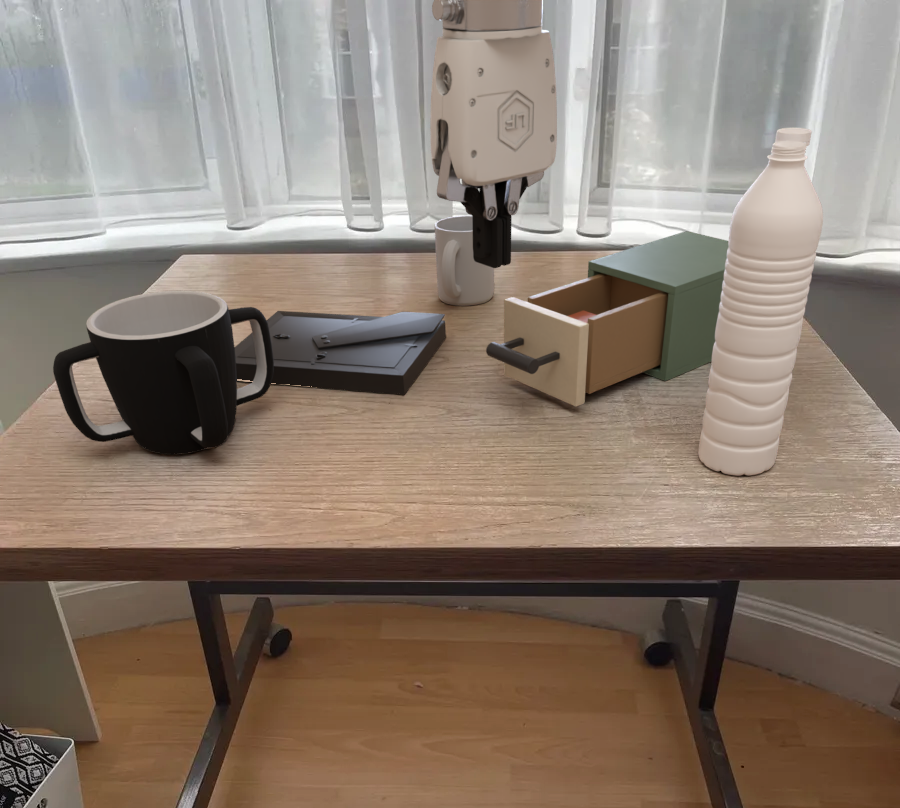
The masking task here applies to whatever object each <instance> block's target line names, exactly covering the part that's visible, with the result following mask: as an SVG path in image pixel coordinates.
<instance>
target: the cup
mask: <svg viewBox="0 0 900 808" xmlns="http://www.w3.org/2000/svg"><path fill="white" fill-rule="evenodd" d="M434 243H435V265H436V266H435V267H436V286H437V287H436V288H437V296H438V298H439V300H440V301H441V302H442V303H444V304H447V305H451V306H457V307H459V306H460V307H466V306H468V307H469V306H476V305H477V306H478V305H481V304H485V303H487V302H489V301H490V300H491V299H492V298H493V296H494V294H495V268H492V267H489V266H486V265H483V264H480V263H477V262H475V261H474V258H473V223H472V215H457V216H450V217H449V216H448V217H444V218H442V219H439V220H437V221H435V222H434Z"/></svg>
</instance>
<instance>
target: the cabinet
mask: <svg viewBox="0 0 900 808" xmlns="http://www.w3.org/2000/svg"><path fill="white" fill-rule="evenodd" d="M728 241H729V240H727V239H722V238H718V237H713V236H710V235H705V234H702V233H697V232H694V231H689V230H685V231H682V232H679V233H675V234H673V235H669V236H666V237H662V238H659V239H656V240H653V241H650V242H645V243H644V244H639V245H637V246H634V247H631V248H627V249H624V250H621V251H618V252H614V253H611V254H608V255H604V256H602V257H598V258H595V259H592V260H589V261H588V262H587V263H588V266H587V278H589V277H592V276H595V275H598V274H601V273H604V274H607V275H610V276H614V277H617V278H620V279H624V280H627V281H630V282H634V283H637V284H640V285H644V286H647V287H650V288H654V289H657V290H660V291H664V292H667V293H669V294H668V303H667V313H666V322H665V331H664V341H663V350H662V359H661V365H659V366H656V367H654V368H651V369H649V370H646V371H644V372H642V373H643V374H645V375H648V376H651V377H653V378H656V379H658V380H661V381H664V382H667V381H669V380H671V379H674V378H677V377H679V376H682V375H684V374H686V373H688V372H690V371H693V370H695V369H697V368H700V367H702V366H705V365H707V364H709V363H712V352H713V346H714V343H715V341H716V340H715V330H716V324H717V318H718V313H719V305H720V301H721V292H722V284H723V280H724V271H725V262H726V259H727V249H728V247H729V246H728ZM642 373H641V374H642Z"/></svg>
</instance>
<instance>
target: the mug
mask: <svg viewBox="0 0 900 808" xmlns="http://www.w3.org/2000/svg"><path fill="white" fill-rule="evenodd" d="M267 320H268V319H267V318H266V316H265V315H264V314H263V313H262V311H261V310H260V309H258V308H256V307H254V306H245V307H238V308H229V305H228V303H227V302H226V301H225V300H224V299H223V298H221V297H220V296H218V295H216V294H213V293H208V292H204V291H196V290H163V291H155V292H147V293H142V294H137V295H136V294H135V295H133V296H129V297H126V298H122V299H119V300H116V301H113V302H110V303H108V304H106V305H104V306H102V307H101V308H99V309H97V310H95V311H94V312H93V313H92V314H91V315H90V316H89V317H88V318H87V320H86V324H85V326H86V330H87V334H88V338H89V342H86V343H81V344H78V345H76V346H73V347H70V348H68V349H65V350H62V351H59V352H58V353H57V354H56V355H55V357H54V360H53V366H52V372H53V376H54V380H55V382H56V383H55V384H56V386H57V389H58V390H57V391H58V393H59V396H60V398H61V401H62V404H63V407H64V410H65V412H66V415H67V416H68V418H69V420H70V421H71V423H72V424H73V425H74V427H75V428H76V429H77V430H78V431H79V432H80V433H81V435H83V436H84V437H85V438H87V439H89V440H90V441H94V442H101V443H105V442H110V441H111V442H112V441H116V440H120V439H124V438H129V437H133V439H134V440H135V442H136V443H137V444H138V445H139V447H141V448H143V449H144V450H146V451H147V452H151V453H155V454H160V455H185V454H192V453H197V452H200V451H203V450H207V449H213V448H217V447H219V446H222V445H223V444H224V443H225V442H226V441H227V440H228V437H229V436H230V435H231V433H232V432H233V430H234V428H235V423H236V419H237V407H238V406H240V405H244V404H247V403H249V402H252V401H255V400H258V399H260V398H261V397H263V396H264V395H266V393H267V392H268V390H269V389H270V387H271V385H272V384H271V381H272V377H273V371H274V359H273V350H272V343H271V337H270V332H269V327H268V322H267ZM246 322H249V325H250V330H251V333H253V338H254V343H255V351H256V360H257V370H256V375H255V378H254V380H253V382H252V383H249V384H247V385H245V386H241V387H238V382H237V379H236V356H235V348H234V347H235V340H234V332H233V331H234V330H233V325H236V324H240V323H246ZM93 359H95V360H96V362H97V365H98V367H99V369H100V372H101V376H102V378H103V381H104V382H105V385H106V388H107V389H108V391H109V393H110V396H111V398H112V401H113V403H114V405H115V408H116V409H117V412H118V413H119V415H120V417H121V419H122V420H120V421H116V422H111V423H108V424H102V425H98V424H96V423H94V422H93V421H92V420H91V419H90V417H89V416H88V414H87V413H86V409H85V408H84V406H83V402H82V400H81V397H80V394H79V391H78V387H77V384H76V381H75V377H74V376H75V375H74V371H73V366H74V364H77V363H80V362H81V363H82V362H85V361H90V360H93Z"/></svg>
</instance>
